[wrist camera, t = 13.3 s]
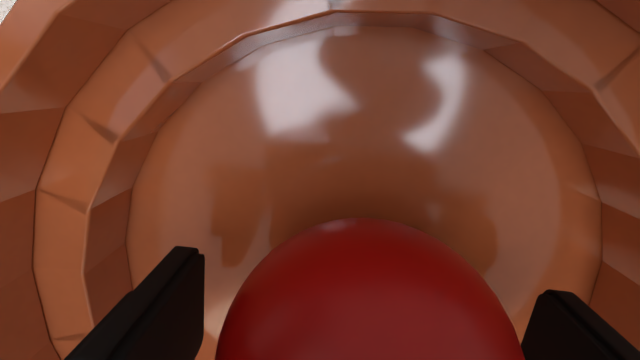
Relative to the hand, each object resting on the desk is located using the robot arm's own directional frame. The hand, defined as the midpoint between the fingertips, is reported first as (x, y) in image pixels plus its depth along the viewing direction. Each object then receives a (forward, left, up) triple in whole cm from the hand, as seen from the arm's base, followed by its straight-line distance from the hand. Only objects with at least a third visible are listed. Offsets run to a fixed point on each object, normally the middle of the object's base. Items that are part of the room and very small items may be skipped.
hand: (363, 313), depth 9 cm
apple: (0, 0, +2) cm, 2 cm away
